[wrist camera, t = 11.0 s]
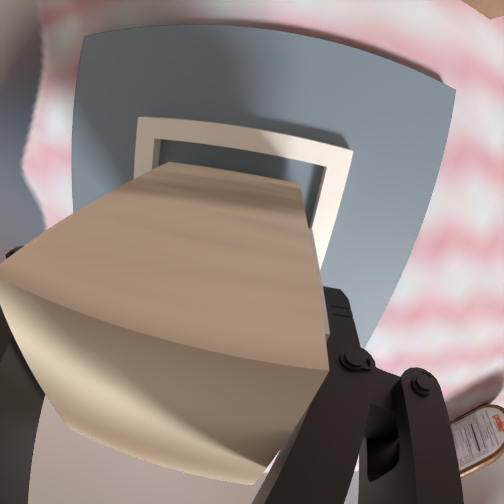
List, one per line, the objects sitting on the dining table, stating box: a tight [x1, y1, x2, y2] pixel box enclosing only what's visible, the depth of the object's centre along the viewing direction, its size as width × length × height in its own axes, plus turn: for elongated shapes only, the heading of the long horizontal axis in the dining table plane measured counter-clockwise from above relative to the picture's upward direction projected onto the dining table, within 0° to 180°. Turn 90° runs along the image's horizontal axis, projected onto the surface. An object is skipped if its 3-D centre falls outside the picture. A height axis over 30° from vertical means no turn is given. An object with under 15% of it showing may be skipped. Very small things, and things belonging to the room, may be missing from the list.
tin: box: [450, 405, 504, 479], centre depth 20 cm, size 15×3×8 cm, turn 125°
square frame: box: [134, 117, 354, 269], centre depth 14 cm, size 10×10×1 cm
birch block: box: [0, 162, 329, 485], centre depth 9 cm, size 6×6×10 cm
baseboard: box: [72, 24, 456, 349], centre depth 15 cm, size 20×20×1 cm
